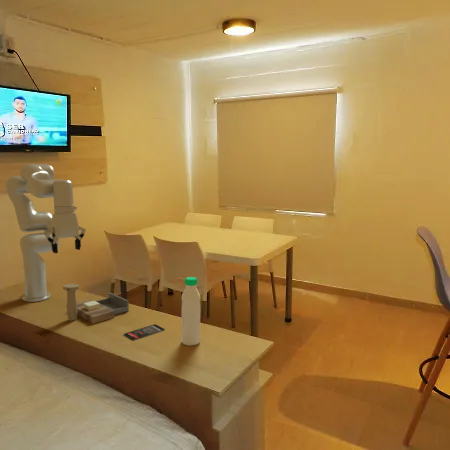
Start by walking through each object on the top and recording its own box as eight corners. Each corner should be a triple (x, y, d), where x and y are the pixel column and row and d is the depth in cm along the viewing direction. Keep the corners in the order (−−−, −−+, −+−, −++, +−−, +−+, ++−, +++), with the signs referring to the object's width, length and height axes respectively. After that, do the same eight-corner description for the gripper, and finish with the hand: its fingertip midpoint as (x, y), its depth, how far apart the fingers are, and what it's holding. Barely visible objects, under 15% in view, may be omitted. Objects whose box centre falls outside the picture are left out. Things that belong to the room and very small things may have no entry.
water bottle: (183, 347, 151) (183, 281, 147) (179, 339, 158) (179, 276, 154) (202, 345, 153) (202, 280, 149) (197, 337, 160) (198, 274, 156)
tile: (83, 307, 181) (83, 303, 180) (94, 304, 184) (94, 300, 184) (89, 310, 177) (89, 306, 177) (99, 307, 181) (99, 303, 180)
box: (94, 306, 190) (93, 296, 190) (110, 302, 196) (109, 292, 195) (112, 316, 179) (112, 305, 179) (128, 311, 185) (128, 300, 184)
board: (70, 311, 185) (70, 304, 184) (91, 305, 192) (91, 299, 191) (92, 323, 171) (92, 317, 170) (114, 317, 178) (114, 310, 177)
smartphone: (122, 334, 161) (155, 323, 171) (122, 335, 161) (155, 325, 171) (132, 340, 156) (165, 329, 166) (132, 341, 156) (165, 331, 166)
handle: (68, 317, 178) (66, 283, 175) (82, 318, 177) (81, 284, 174) (62, 321, 173) (60, 287, 170) (76, 322, 172) (75, 287, 170)
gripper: (79, 208, 178) (82, 247, 180) (39, 211, 166) (42, 253, 168) (88, 209, 173) (90, 249, 175) (46, 212, 161) (49, 255, 163)
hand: (66, 251), depth 172 cm, fingers open, 9 cm apart
